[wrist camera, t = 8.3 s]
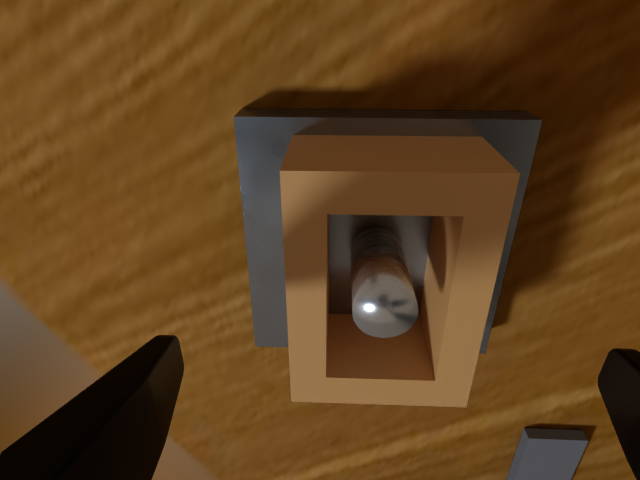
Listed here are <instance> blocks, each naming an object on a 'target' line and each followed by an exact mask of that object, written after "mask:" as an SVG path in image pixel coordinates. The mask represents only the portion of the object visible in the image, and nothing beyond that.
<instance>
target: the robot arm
mask: <svg viewBox="0 0 640 480" xmlns="http://www.w3.org/2000/svg"><path fill="white" fill-rule="evenodd" d="M183 372H184V363H183V358H182V353H181V348H180V343H179V340H178V338H177V337H176V336H174V335H158V336H156V337H154V338H153V339H151V340H150V341H149V342H147V343H146V344H145V345H143V346H142V347H141V348H139V349H138V350H137V351H135V352H134V353H133V354H131V355H130V356H129V357H127V358H126V359H125V360H123V361H122V362H121V363H119V364H118V365H117V366H115V367H114V368H113V369H111V370H110V371H109V372H107V373H106V374H105V375H103V376H102V377H101V378H99V379H98V380H97V381H95V382H94V383H93V384H91V385H90V386H89V387H87V388H86V389H85V390H83V391H82V392H81V393H79V394H78V395H77V396H75V397H74V398H73V399H71V400H70V401H69V402H68V403H66V404H65V405H64V406H62V407H61V408H59V409H58V410H57V411H55V412H54V413H53V414H51V415H50V416H49V417H48V418H46V419H45V420H44V421H42V422H41V423H39V424H38V425H37V426H36V427H34V428H33V429H31V430H30V431H29V432H28V433H26V434H25V435H24V436H22V437H21V438H19V439H18V440H17V441H16V442H14V443H13V444H11V445H10V446H9V447H8V448H6V449H5V450H3V451H2V452H1V454H0V480H151V479H152V477H153V474H154V472H155V469H156V466H157V464H158V461H159V458H160V456H161V453H162V450H163V447H164V445H165V442H166V438H167V435H168V431H169V427H170V423H171V420H172V416H173V412H174V408H175V404H176V400H177V396H178V393H179V389H180V385H181V381H182V377H183ZM598 387H599V390H600V393H601V396H602V398H603V401H604V403H605V406H606V408H607V411H608V413H609V416H610V419H611V421H612V424H613V426H614V429H615V431H616V434H617V436H618V439H619V442H620V444H621V447H622V449H623V451H624V454H625V456H626V458H627V461H628V463H629V465H630V467H631V469H632V471H633V473H634V475H635V477H636V479H637V480H640V352H639V351H637V350H634V349H618V348H616V349H612V350H611V351H610V352H609V353H608V355H607V358H606V360H605V362H604V365H603V367H602V369H601V372H600V374H599V377H598Z"/></svg>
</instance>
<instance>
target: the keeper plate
mask: <svg viewBox="0 0 640 480" xmlns="http://www.w3.org/2000/svg"><path fill="white" fill-rule="evenodd" d="M234 122H235V133H236V144H237V154H238V165H239V175H240V186H241V197H242V207H243V218H244V229H245V239H246V250H247V260H248V271H249V282H250V292H251V303H252V314H253V324H254V335H255V346H262V347H289V346H288V326H287V306H286V286H285V266H284V246H283V226H282V207H281V187H280V169H281V166H282V163H283V160H284V158H285V155H286V152H287V149H288V147H289V144H290V141H291V138H292V136H293V135H352V136H465V137H483V138H484V139H485V140H486V141H487V142H488V143H489V144H490V145H491V146H492V147H493V148H494V149H495V150H496V151H497V152H498V153H500V154H501V155H502V156H503V157H504V158H505V159H506V160H507V161H508V162H509V163H510V164H511V165H512V166H513V167H514V168H515V169H516V170H517V171H518V172H519V173H520V177H519V182H518V186H517V190H516V195H515V199H514V203H513V208H512V212H511V216H510V221H509V225H508V229H507V234H506V238H505V242H504V247H503V251H502V255H501V260H500V264H499V268H498V273H497V277H496V281H495V286H494V290H493V294H492V299H491V303H490V307H489V311H488V316H487V320H486V324H485V329H484V333H483V337H482V342H481V346H480V350H479V353H486V348H487V344H488V340H489V336H490V332H491V328H492V324H493V320H494V316H495V312H496V308H497V304H498V300H499V296H500V291H501V287H502V283H503V279H504V275H505V271H506V267H507V263H508V259H509V255H510V251H511V247H512V243H513V239H514V234H515V230H516V226H517V222H518V218H519V214H520V210H521V206H522V202H523V198H524V194H525V190H526V186H527V182H528V177H529V173H530V169H531V165H532V161H533V157H534V153H535V149H536V145H537V141H538V137H539V133H540V129H541V124H542V119H540V118H538V117H537V116H535V115H533V114H532V113H530V112H528V111H447V110H346V109H245V108H242V109H241V110H240V111H239V112H238V113H237V114H236V115H235V116H234ZM432 219H433V216H403V215H341V214H329V314H352V315H353V319H354V322H355V324H356V325H357V327H358V328H359V329H360V330H362V331H363V332H364V333H366V334H368V335H370V336H374V337H379V338H389V337H395V336H398V335H400V334H403V333H404V332H406V331H407V330H409V329H410V328H411V327H412V326H413V324H414V323H415V321H416V319H417V316H419V314H420V307H421V300H422V292H423V285H424V278H425V270H426V263H427V255H428V248H429V241H430V233H431V226H432Z"/></svg>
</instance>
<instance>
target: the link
mask: <svg viewBox="0 0 640 480" xmlns="http://www.w3.org/2000/svg"><path fill="white" fill-rule="evenodd" d="M519 177H520V173H519V172H518V171H517V170H516V169H515V168H514V167H513V166H512V165H511V164H510V163H509V162H508V161H507V160H506V159H505V158H504V157H503V156H502V155H501V154H500V153H498V152H497V151H496V150H495V149H494V148H493V147H492V146H491V145H490V144H489V143H488V142H487V141H486V140H485V139H484V138H483V137H465V136H352V135H293V136H292V138H291V141H290V144H289V147H288V149H287V152H286V155H285V158H284V160H283V163H282V166H281V169H280V187H281V207H282V226H283V246H284V266H285V286H286V306H287V326H288V346H289V366H290V386H291V401H293V402H323V403H353V404H383V405H413V406H443V407H467V402H468V398H469V394H470V389H471V385H472V381H473V376H474V372H475V368H476V363H477V359H478V355H479V350H480V346H481V342H482V337H483V333H484V329H485V324H486V320H487V316H488V311H489V307H490V303H491V299H492V294H493V290H494V286H495V281H496V277H497V273H498V268H499V264H500V260H501V255H502V251H503V247H504V242H505V238H506V234H507V229H508V225H509V221H510V216H511V212H512V208H513V203H514V199H515V195H516V190H517V186H518V182H519ZM329 214H341V215H403V216H433V219H432V226H431V233H430V241H429V248H428V255H427V263H426V270H425V278H424V285H423V292H422V300H421V307H420V314H419V316H417V319H416V321H415V323H414V324H413V326H412V327H411V328H410V329H409V330H407V331H406V332H404V333H403V334H400V335H398V336H395V337H389V338H379V337H374V336H370V335H368V334H366V333H364V332H363V331H362V330H360V329H359V328H358V327H357V325H356V324H355V322H354V319H353V315H352V314H329Z"/></svg>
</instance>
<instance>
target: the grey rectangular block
mask: <svg viewBox="0 0 640 480" xmlns="http://www.w3.org/2000/svg"><path fill="white" fill-rule="evenodd" d="M587 443H588V439H587V437H586V435H585V434H584V432H583V430H565V429H538V428H524V430H523V433H522V436H521V439H520V442H519V444H518V447H517V450H516V453H515V456H514V459H513V462H512V465H511V468H510V471H509V474H508V477H507V480H571V478H572V476H573V474H574V472H575V469H576V467H577V465H578V463H579V461H580V458H581V456H582V454H583V452H584V450H585V448H586V445H587Z"/></svg>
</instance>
